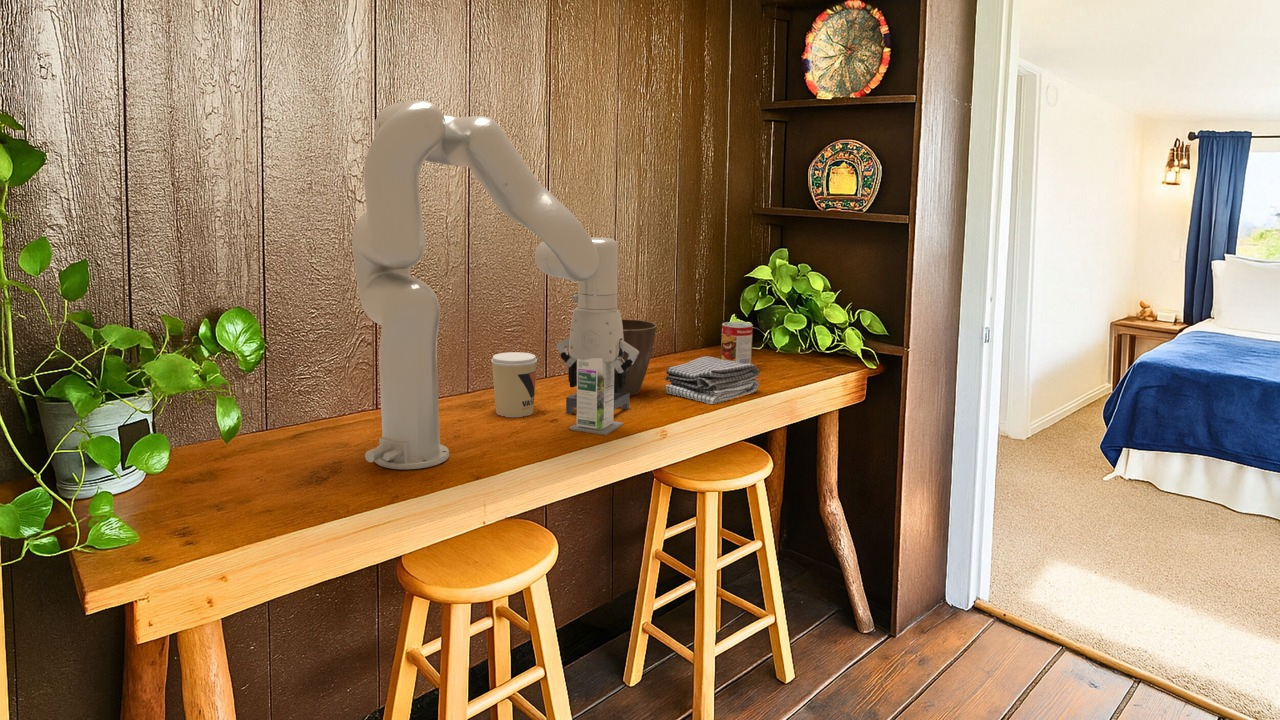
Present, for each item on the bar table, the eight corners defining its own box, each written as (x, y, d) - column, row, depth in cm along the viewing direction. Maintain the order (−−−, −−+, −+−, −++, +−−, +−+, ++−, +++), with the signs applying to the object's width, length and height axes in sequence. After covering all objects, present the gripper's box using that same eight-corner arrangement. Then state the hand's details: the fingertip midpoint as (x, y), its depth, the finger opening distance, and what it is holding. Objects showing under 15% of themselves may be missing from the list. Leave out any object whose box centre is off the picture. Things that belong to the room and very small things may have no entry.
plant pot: (599, 383, 208) (600, 317, 205) (660, 387, 205) (661, 320, 202) (582, 398, 194) (583, 327, 190) (648, 402, 191) (649, 331, 187)
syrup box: (575, 427, 170) (575, 354, 167) (589, 419, 175) (589, 349, 172) (601, 430, 167) (602, 357, 164) (614, 423, 173) (615, 352, 170)
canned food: (735, 365, 231) (737, 320, 228) (756, 370, 225) (759, 325, 223) (714, 368, 226) (715, 323, 224) (735, 374, 220) (737, 327, 218)
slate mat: (606, 434, 166) (606, 432, 166) (569, 429, 169) (569, 427, 169) (623, 424, 173) (623, 422, 173) (587, 419, 176) (587, 417, 176)
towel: (761, 393, 202) (763, 361, 200) (709, 407, 189) (711, 372, 188) (712, 382, 212) (713, 351, 211) (660, 394, 200) (660, 361, 198)
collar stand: (609, 419, 177) (609, 403, 176) (566, 413, 181) (566, 397, 180) (629, 408, 186) (629, 392, 185) (587, 402, 190) (587, 387, 189)
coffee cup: (528, 420, 175) (528, 362, 173) (485, 416, 177) (484, 359, 175) (543, 408, 184) (542, 353, 182) (501, 405, 186) (500, 350, 184)
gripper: (548, 301, 166) (548, 387, 170) (630, 308, 159) (629, 398, 163) (566, 296, 173) (566, 380, 176) (646, 303, 166) (644, 389, 170)
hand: (596, 388), depth 170 cm, fingers open, 9 cm apart
